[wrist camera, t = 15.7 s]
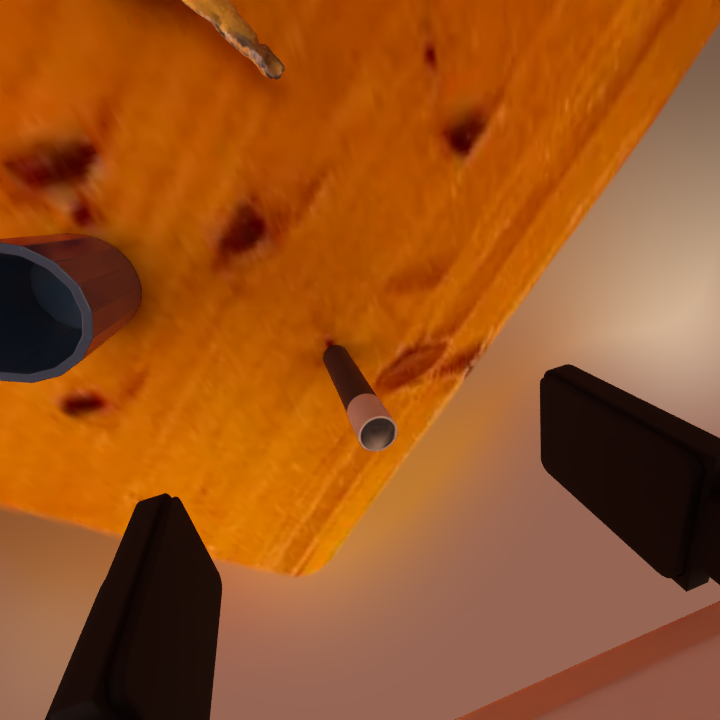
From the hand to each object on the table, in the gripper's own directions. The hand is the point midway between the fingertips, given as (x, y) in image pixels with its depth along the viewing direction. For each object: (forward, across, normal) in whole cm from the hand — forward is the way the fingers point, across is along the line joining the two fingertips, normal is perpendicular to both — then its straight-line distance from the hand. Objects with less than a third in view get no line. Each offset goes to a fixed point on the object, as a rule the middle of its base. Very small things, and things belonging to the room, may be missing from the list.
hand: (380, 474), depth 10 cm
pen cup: (+23, +14, -4) cm, 27 cm away
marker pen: (+23, -2, +6) cm, 24 cm away
